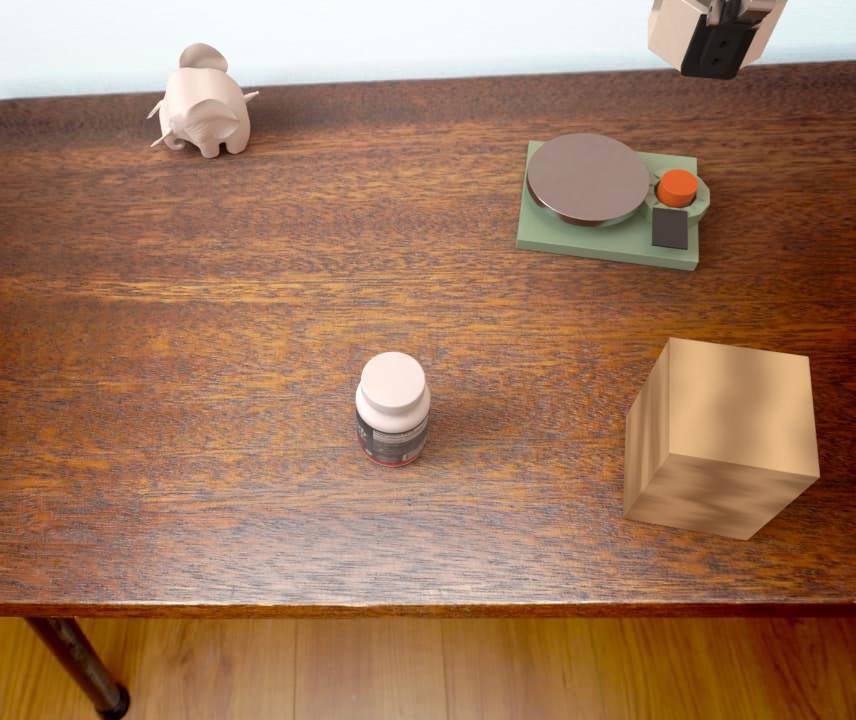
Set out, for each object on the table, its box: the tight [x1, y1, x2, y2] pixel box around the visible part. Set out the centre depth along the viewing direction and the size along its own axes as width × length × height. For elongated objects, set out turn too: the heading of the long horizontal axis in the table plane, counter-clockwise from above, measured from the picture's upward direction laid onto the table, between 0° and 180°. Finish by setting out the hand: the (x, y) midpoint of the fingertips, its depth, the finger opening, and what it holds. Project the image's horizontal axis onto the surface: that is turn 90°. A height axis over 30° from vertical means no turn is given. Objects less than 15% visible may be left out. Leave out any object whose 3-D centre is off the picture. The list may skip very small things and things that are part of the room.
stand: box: [622, 336, 821, 541], centre depth 59 cm, size 9×9×12 cm
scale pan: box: [526, 132, 688, 250], centre depth 76 cm, size 14×12×1 cm
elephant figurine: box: [146, 42, 260, 159], centre depth 83 cm, size 10×12×9 cm
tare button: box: [656, 169, 698, 208], centre depth 75 cm, size 3×3×2 cm
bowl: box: [647, 0, 789, 73], centre depth 51 cm, size 7×7×4 cm
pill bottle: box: [354, 351, 431, 468], centre depth 63 cm, size 6×6×10 cm
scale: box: [515, 139, 711, 272], centre depth 77 cm, size 17×13×3 cm
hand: (705, 32), depth 52 cm, fingers closed on bowl, 6 cm apart
